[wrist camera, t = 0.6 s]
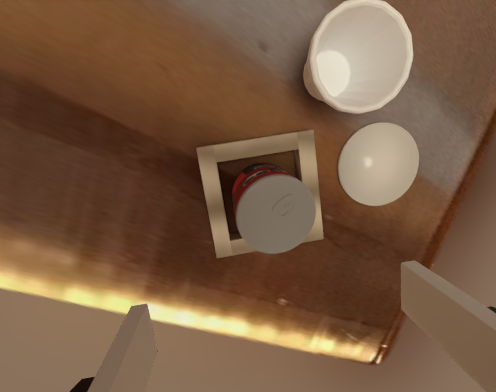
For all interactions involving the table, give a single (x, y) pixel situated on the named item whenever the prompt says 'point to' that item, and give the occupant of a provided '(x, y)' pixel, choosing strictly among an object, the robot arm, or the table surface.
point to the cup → (359, 56)
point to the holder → (253, 147)
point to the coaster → (378, 164)
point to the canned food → (272, 208)
